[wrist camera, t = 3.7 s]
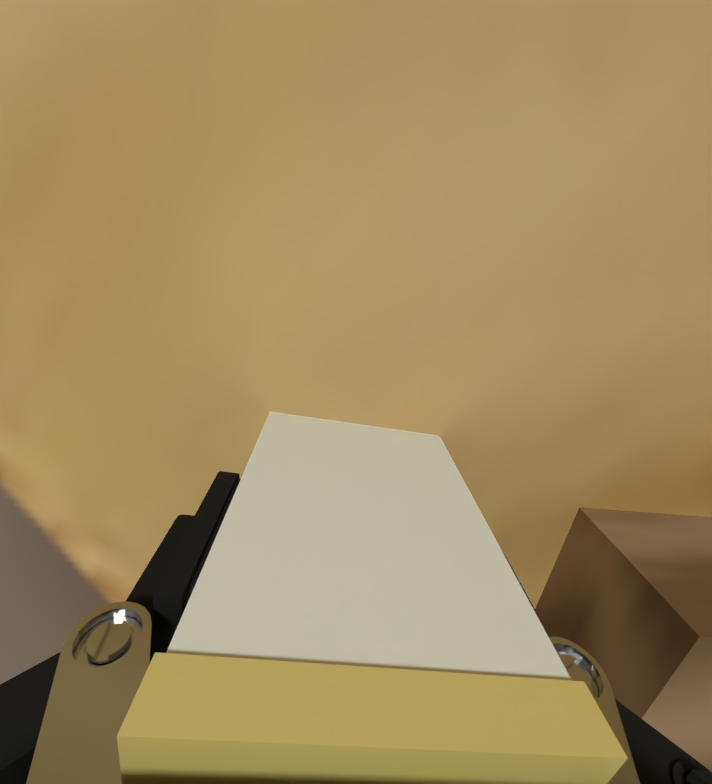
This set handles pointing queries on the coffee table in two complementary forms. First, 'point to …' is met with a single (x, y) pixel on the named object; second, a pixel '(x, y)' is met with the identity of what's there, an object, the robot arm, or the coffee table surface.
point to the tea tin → (359, 635)
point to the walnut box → (642, 614)
